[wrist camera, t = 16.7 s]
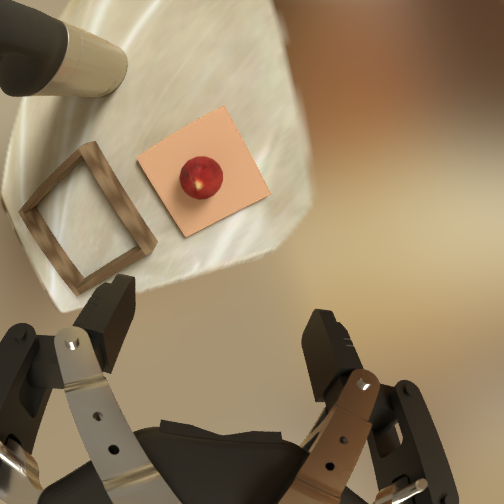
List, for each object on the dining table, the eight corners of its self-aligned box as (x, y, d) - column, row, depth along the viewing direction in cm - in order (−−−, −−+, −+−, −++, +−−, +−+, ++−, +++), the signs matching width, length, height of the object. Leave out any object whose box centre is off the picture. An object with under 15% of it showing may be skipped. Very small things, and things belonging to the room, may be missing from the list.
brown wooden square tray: (30, 204, 40) (18, 211, 36) (95, 141, 36) (83, 143, 33) (84, 285, 48) (76, 296, 45) (157, 241, 45) (151, 252, 41)
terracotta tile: (139, 156, 38) (136, 157, 37) (224, 106, 36) (224, 105, 34) (187, 233, 44) (185, 237, 43) (270, 191, 42) (271, 194, 41)
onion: (177, 174, 38) (163, 188, 31) (201, 144, 37) (193, 151, 30) (207, 198, 40) (200, 217, 33) (232, 169, 39) (231, 182, 32)
